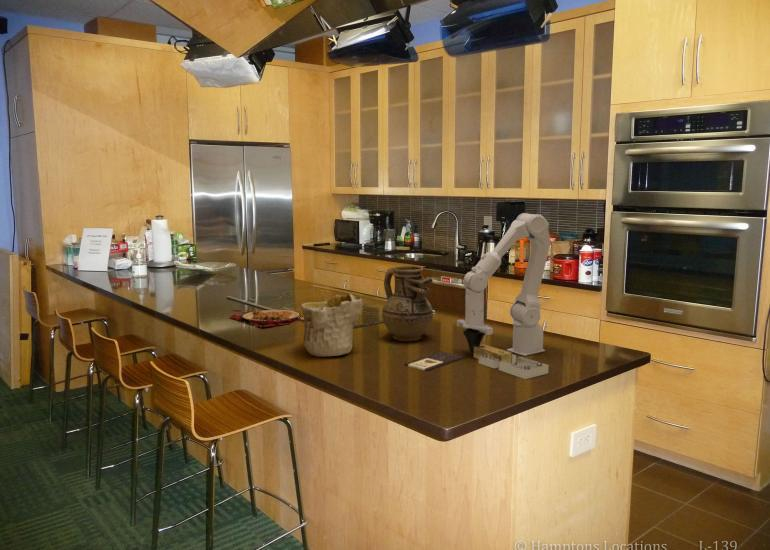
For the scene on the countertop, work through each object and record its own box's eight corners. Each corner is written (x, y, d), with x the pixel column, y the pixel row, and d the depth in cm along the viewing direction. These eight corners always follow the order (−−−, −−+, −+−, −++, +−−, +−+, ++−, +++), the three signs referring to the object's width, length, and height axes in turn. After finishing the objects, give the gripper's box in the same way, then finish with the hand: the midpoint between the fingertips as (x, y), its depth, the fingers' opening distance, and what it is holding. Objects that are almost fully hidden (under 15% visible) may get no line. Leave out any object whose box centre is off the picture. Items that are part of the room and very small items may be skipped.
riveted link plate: (483, 355, 197) (483, 343, 196) (510, 364, 187) (511, 351, 186) (473, 357, 195) (473, 345, 194) (501, 366, 185) (501, 354, 184)
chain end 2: (520, 364, 186) (521, 355, 186) (548, 373, 178) (548, 363, 177) (498, 370, 181) (498, 360, 181) (525, 379, 173) (526, 368, 172)
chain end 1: (500, 358, 193) (500, 348, 193) (515, 363, 188) (516, 353, 188) (478, 363, 188) (478, 353, 188) (493, 368, 183) (494, 358, 182)
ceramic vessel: (266, 331, 199) (302, 271, 206) (312, 362, 212) (344, 305, 219) (302, 342, 184) (339, 277, 191) (350, 375, 197) (383, 313, 204)
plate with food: (263, 331, 234) (263, 322, 234) (228, 318, 254) (228, 310, 253) (316, 322, 251) (316, 313, 250) (280, 310, 270) (280, 302, 270)
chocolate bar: (464, 356, 194) (428, 369, 181) (464, 359, 194) (428, 372, 181) (441, 351, 200) (404, 363, 187) (441, 354, 200) (404, 366, 187)
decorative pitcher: (367, 337, 221) (366, 267, 217) (403, 329, 233) (403, 262, 229) (411, 348, 205) (411, 273, 201) (447, 339, 217) (447, 268, 213)
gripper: (449, 307, 198) (449, 349, 200) (481, 315, 186) (480, 359, 188) (466, 305, 202) (466, 346, 204) (498, 312, 190) (497, 356, 192)
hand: (474, 352), depth 196 cm, fingers closed
